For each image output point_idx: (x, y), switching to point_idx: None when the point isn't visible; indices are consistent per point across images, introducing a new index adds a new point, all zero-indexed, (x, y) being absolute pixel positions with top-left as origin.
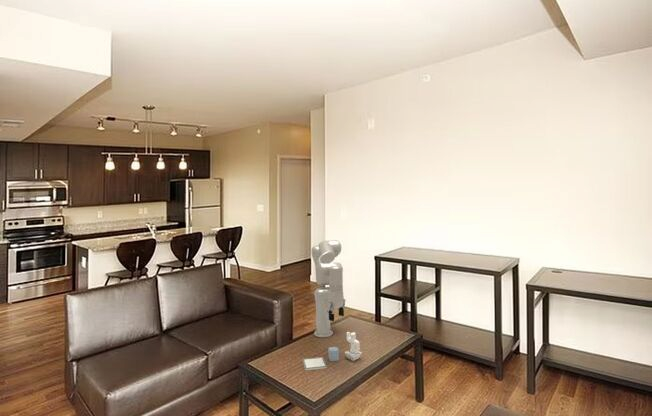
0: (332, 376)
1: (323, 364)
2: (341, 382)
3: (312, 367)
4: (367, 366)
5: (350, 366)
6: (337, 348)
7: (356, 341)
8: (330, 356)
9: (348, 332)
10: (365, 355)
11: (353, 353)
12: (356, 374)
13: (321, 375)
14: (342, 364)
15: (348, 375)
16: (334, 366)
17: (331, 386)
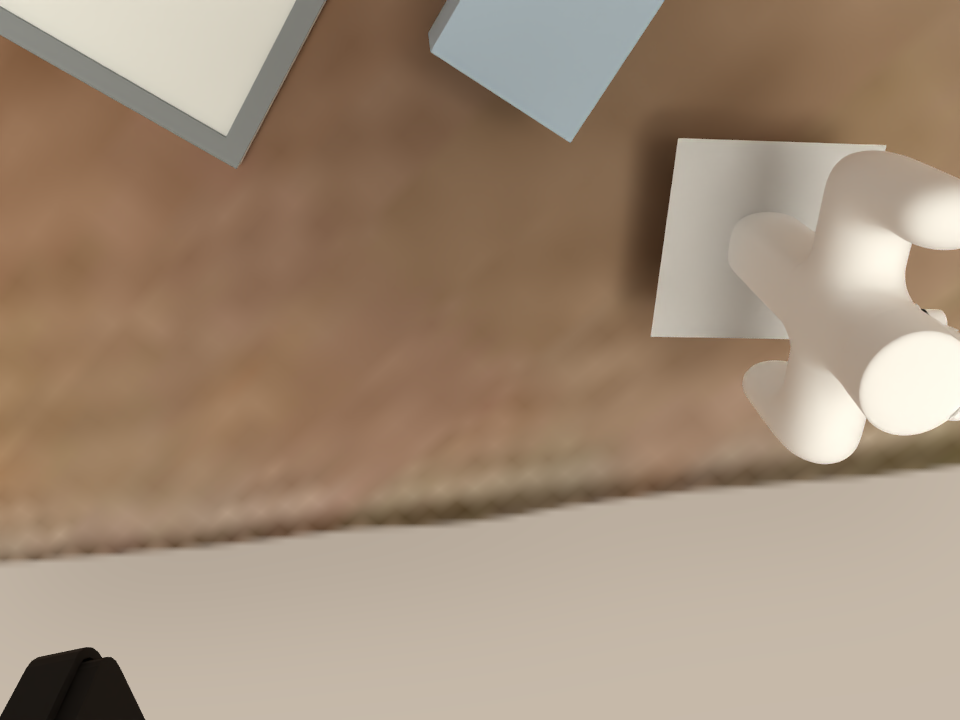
0: (161, 372)
1: (238, 73)
2: (164, 526)
3: (21, 30)
4: (665, 477)
5: (521, 346)
6: (610, 66)
7: (811, 440)
8: (430, 40)
9: (950, 239)
10: (915, 271)
11: (733, 276)
12: (424, 515)
13: (52, 260)
14: (487, 236)
15: (336, 475)
16: (360, 199)
17: (14, 514)
